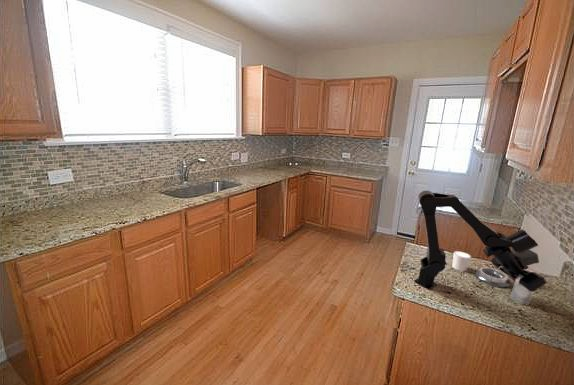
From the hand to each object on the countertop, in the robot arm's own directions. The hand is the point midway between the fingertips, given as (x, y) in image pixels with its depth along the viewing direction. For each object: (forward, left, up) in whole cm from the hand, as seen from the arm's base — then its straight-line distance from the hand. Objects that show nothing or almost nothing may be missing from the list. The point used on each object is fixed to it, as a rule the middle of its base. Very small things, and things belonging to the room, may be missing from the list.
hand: (528, 285), depth 99 cm
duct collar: (+6, +13, -7) cm, 16 cm away
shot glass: (+3, +25, -7) cm, 26 cm away
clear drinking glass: (-1, +1, -7) cm, 7 cm away
